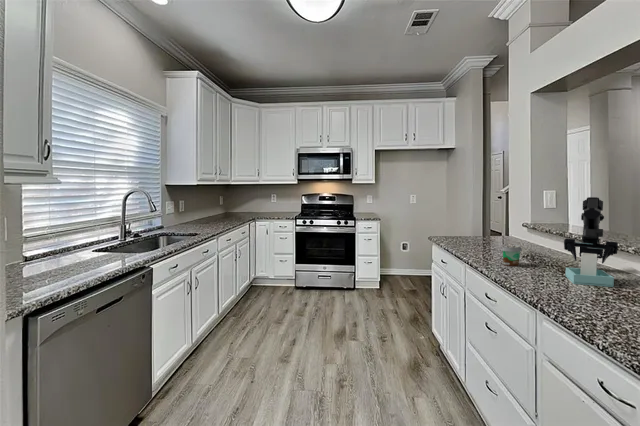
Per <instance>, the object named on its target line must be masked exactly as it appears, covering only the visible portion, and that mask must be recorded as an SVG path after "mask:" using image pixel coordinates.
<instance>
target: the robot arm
mask: <svg viewBox="0 0 640 426" xmlns="http://www.w3.org/2000/svg"><path fill="white" fill-rule="evenodd" d="M603 210H604V201H603V200H601V199H600V197H598V196H590V197H589V196H588V197H586V199H585V200H583V201H582V211H583V212H582V213H581V216H580V220H581V221H583V227H582V228H583V229H582V234H581V241H576V238H568V237H566V238H565V239H563V240H564V241H563V249H564V250H565V251H567V252H570V253H571V255H572V256H573V259H574V261H575V262H577V249H576V248H577V247H578V248H579V258H581V254H582V253H590V254H597V259H600V260H601V264H604V263H605V262H606V260H607V259H608V258H609V257H610V256H613V255H618V250H619V243H618V242H617V241H608V240H606V241H605V244H604V243H601V242H600V239H599V238H603V237H604V228H600V224H601V222H603V220H604V219H605V216H604V215H603V213H602V211H603ZM579 268H581V265H580V266H579ZM597 270H600V269H599V268H597Z"/></svg>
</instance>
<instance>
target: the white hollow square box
mask: <svg viewBox="0 0 640 426" xmlns="http://www.w3.org/2000/svg"><path fill="white" fill-rule="evenodd" d="M580 266H581V269H580V275H593V276H596V270H597V269H598V258H597V254H590V253H581V257H580Z"/></svg>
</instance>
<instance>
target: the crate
mask: <svg viewBox="0 0 640 426" xmlns="http://www.w3.org/2000/svg"><path fill="white" fill-rule="evenodd" d="M580 269H581V268H580V267H565V277H566V278H567V279H568V280H569V281H570V282H571V283H572V284H573V285H583V286H584V285H586V286H597V287H609V288H613V287H614V283H615V279H614V278H615V277H614V276H612V275H611V274H610V273H608V272H606V271H605V270H603V269H599V270H596V276H593V275H580Z"/></svg>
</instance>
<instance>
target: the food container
mask: <svg viewBox="0 0 640 426" xmlns="http://www.w3.org/2000/svg"><path fill="white" fill-rule="evenodd" d="M521 251H523V249H522V247H521V245H519V244H513V246H502V263H503V265H504V267H519V266H520V257H521Z"/></svg>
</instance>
